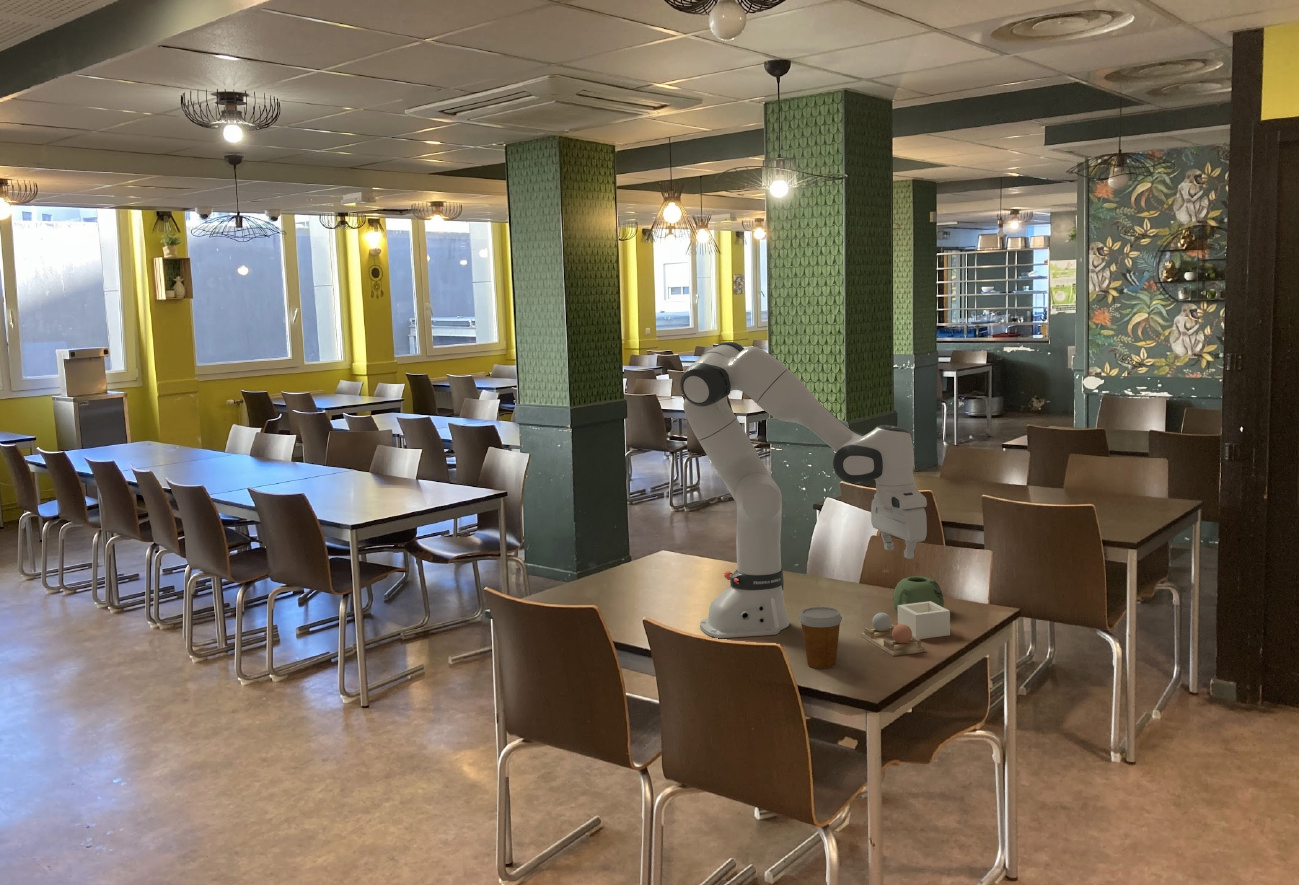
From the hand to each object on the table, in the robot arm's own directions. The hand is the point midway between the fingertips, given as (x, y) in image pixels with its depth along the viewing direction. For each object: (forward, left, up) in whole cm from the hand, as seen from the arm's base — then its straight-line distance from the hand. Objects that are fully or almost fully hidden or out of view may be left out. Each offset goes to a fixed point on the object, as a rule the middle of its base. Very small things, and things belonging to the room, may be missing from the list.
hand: (898, 553), depth 246 cm
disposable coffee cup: (-22, -6, -22) cm, 32 cm away
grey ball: (-1, +6, -18) cm, 19 cm away
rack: (-1, +1, -22) cm, 22 cm away
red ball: (-1, -4, -18) cm, 18 cm away
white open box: (+10, +6, -22) cm, 25 cm away
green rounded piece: (+16, +21, -22) cm, 34 cm away
